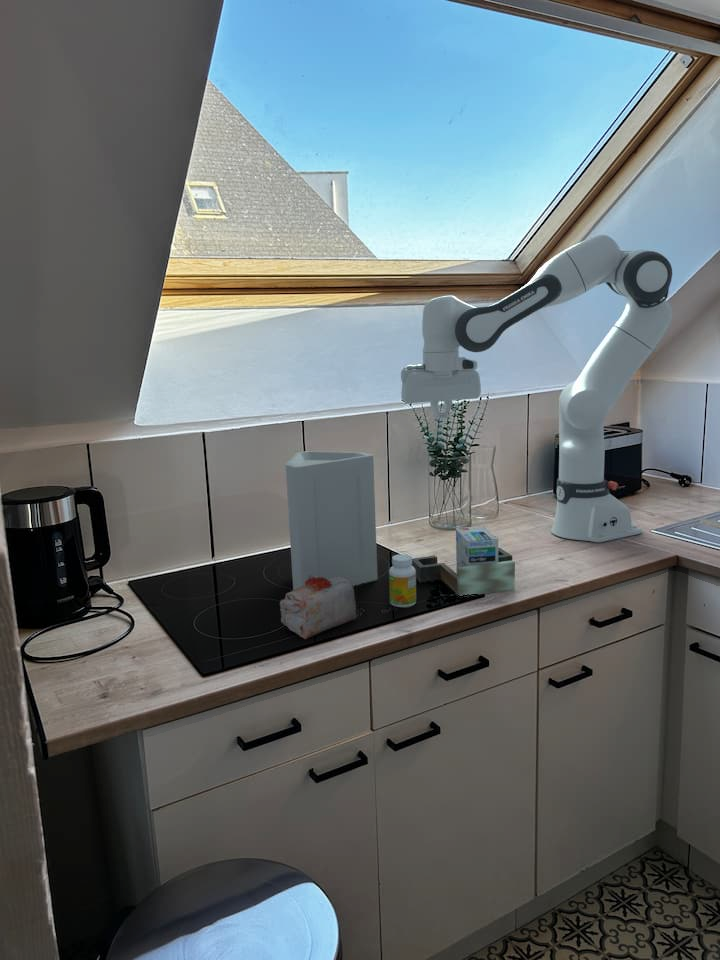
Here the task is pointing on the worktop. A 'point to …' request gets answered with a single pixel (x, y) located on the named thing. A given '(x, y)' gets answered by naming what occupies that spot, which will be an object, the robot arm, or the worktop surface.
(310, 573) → the grey triangular bin
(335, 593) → the food item
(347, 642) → the worktop surface
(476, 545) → the light bulb box
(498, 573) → the box
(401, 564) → the supplement bottle
